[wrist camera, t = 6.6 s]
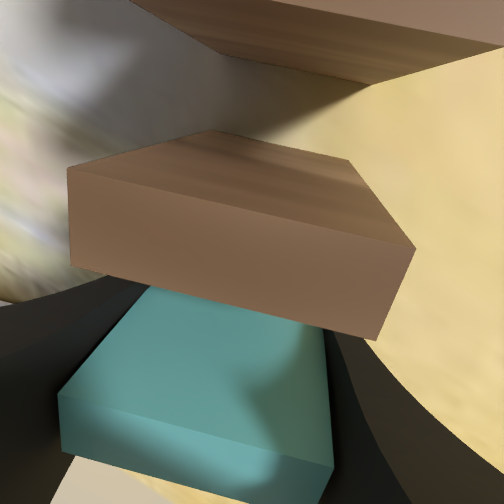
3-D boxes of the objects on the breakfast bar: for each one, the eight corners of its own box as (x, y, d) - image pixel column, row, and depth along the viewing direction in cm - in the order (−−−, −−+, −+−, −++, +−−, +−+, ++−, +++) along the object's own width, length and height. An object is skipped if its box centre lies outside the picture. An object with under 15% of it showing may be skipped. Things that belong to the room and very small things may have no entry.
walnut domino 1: (371, 84, 11) (506, 46, 4) (220, 53, 11) (58, -42, 4) (389, 26, 10) (599, -168, 3) (228, -6, 10) (49, -257, 3)
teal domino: (307, 299, 14) (309, 520, 6) (188, 270, 14) (61, 451, 7) (318, 264, 13) (334, 468, 6) (193, 235, 13) (57, 393, 6)
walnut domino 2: (335, 203, 12) (375, 341, 5) (204, 174, 13) (71, 265, 5) (348, 160, 12) (416, 249, 5) (210, 130, 12) (66, 167, 5)
